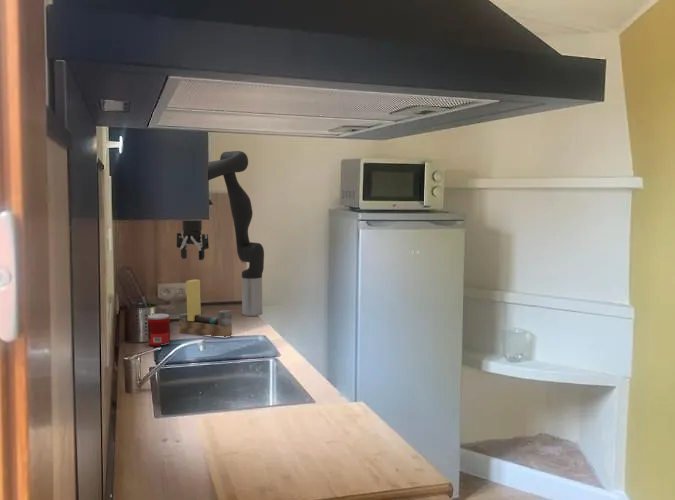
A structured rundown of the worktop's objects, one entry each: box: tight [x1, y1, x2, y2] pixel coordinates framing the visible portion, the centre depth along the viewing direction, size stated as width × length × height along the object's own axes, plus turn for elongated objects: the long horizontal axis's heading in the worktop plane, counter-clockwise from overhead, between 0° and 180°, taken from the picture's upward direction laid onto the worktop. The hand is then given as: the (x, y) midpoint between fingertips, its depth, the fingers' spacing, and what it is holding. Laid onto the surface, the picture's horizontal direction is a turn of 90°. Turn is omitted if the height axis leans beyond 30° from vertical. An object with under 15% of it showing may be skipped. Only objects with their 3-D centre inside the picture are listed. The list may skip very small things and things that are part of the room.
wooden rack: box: [178, 309, 233, 337], centre depth 266 cm, size 23×4×10 cm, turn 63°
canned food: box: [147, 313, 171, 347], centre depth 251 cm, size 8×8×11 cm
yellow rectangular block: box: [186, 278, 202, 321], centre depth 268 cm, size 3×5×16 cm, turn 153°
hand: (192, 259), depth 266 cm, fingers open, 8 cm apart
